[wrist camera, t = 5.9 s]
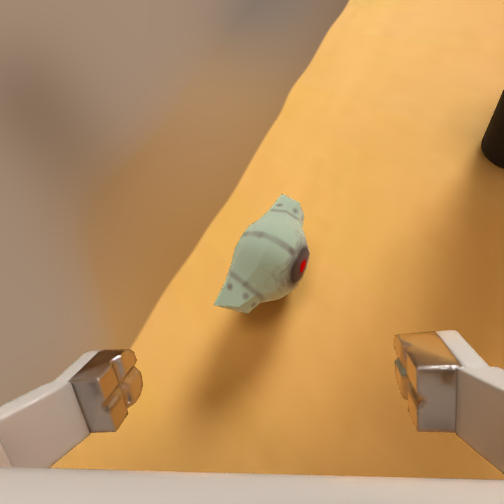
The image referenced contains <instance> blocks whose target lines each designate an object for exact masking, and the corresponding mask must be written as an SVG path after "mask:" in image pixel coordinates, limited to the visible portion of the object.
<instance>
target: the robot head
mask: <svg viewBox="0 0 504 504" xmlns="http://www.w3.org/2000/svg"><path fill="white" fill-rule="evenodd" d="M303 220H304V213H303V210H302V208H301V206H300V203H299V202H297V201H295V200H293V199H291V198H289V197H287V196H286V195H284V194H281V196H280V197H279V198H278V199H277V201H276V202H275V203H274V205H273V206H272V207H271V209H270V210H269V211H268V212H267V213H265V214H264V215H263V216H262V217H261V218H260V219H259V220H257V221H256V222H254V223H253V224H251V225H250V226H249V227H248V228H247V229H246V231H245V232H244V233H243V235H242V236H241V238H240V240H239V242H238V244H237V246H236V248H235V251H234V255H233V259H232V263H231V266H230V269H229V272H228V275H227V278H226V281H225V283H224V285H223V287H222V289H221V291H220V293H219V295H218V297H217V299H216V301H215V303H214V305H215V306H219V307H223V308H227V309H231V310H235V311H239V312H243V313H247V314H248V313H249V312H250V311H252V310H253V309H254V308H255V307H256V306H257V305H258V304H260V303H263V302H269V301H274V300H279V299H281V298H282V297H284V296H286V295H287V294H289V293H290V292H292V291H293V290H295V289H296V287H297V285H298V284H299V282H300V280H301V279H302V277H303V275H304V272H305V270H306V268H307V263H308V259H309V254H310V253H309V249H308V245H307V242H306V238H305V234H304V231H303Z"/></svg>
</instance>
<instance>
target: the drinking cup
mask: <svg viewBox="0 0 504 504" xmlns="http://www.w3.org/2000/svg"><path fill="white" fill-rule="evenodd" d="M482 150H483V152H484V154H485V155H486V157H487V158H488V159H489V160H490V161H492V162H493V163H494V164H496V165H498V166H500V167H502V168H504V90H503V93H502V95H501V97H500V100H499V102H498V104H497V107H496V109H495V111H494V114H493V116H492V118H491V121H490V123H489V125H488V128H487V130H486V132H485V135H484V137H483V140H482Z"/></svg>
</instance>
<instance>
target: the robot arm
mask: <svg viewBox="0 0 504 504" xmlns="http://www.w3.org/2000/svg"><path fill="white" fill-rule="evenodd" d="M394 349H395V351H396V353H397V355H398V358H397V359H396V360H395V374H396V379H397V384H398V387H399V390H400V392H401V395H402V397H403V398H404V399H406V400H407V401H408V411H409V413H410V416H411V418H412V420H413V422H414V425H415V427H416V429H417V431H418V432H447V433H456V435H457V436H458V437H460V438H461V439H462V440H463V441H465V442H466V443H467V444H468V445H469V446H471V447H472V448H473V449H474V450H475V451H477V452H478V453H479V454H480V455H482V456H483V457H484V458H485V459H486V460H488V461H489V462H490V463H491V464H492V465H494V466H495V467H496V468H497V469H499V470H500V471H501V472H502V473H503V474H504V370H503V369H501V368H499V367H490V366H489V365H488V364H487V363H486V362H485V361H484V360H483V359H482V358H481V357H480V356H479V355H478V353H477V352H476V351H475V350H474V349H473V348H472V347H471V346H470V345H469V344H468V343H467V342H466V341H465V340H464V339H463V337H462V336H461V335H460V334H459V333H458V332H457V331H455V330H444V331H433V332H422V333H410V334H398V335H394ZM136 361H137V359H136V356H135V353H134V351H132V350H130V349H120V350H96V351H88V352H85V353H84V354H83V355H82V356H81V357H80V358H79V359H78V360H76V361H75V362H74V363H73V364H72V365H71V366H70V367H68V368H67V369H66V370H65V371H64V372H63V373H62V374H61V375H60V376H58V377H57V378H56V379H55V380H54V381H53V382H52V383H46V384H44V385H42V386H40V387H38V388H36V389H34V390H32V391H30V392H28V393H26V394H24V395H22V396H20V397H18V398H16V399H14V400H12V401H10V402H8V403H6V404H4V405H2V406H0V504H504V480H491V479H452V478H412V477H373V476H334V475H294V474H256V473H219V472H182V471H145V470H102V469H60V468H50V467H51V466H52V465H53V464H54V463H56V462H57V461H58V460H59V459H61V458H62V457H63V456H64V455H65V454H67V453H68V452H69V451H70V450H72V449H73V448H74V447H75V446H77V445H78V444H79V443H80V442H81V441H83V440H84V439H85V438H86V437H88V436H89V435H90V433H97V432H116V431H117V430H118V428H119V427H120V425H121V424H122V422H123V421H124V419H125V418H126V416H127V415H128V408H129V407H130V406H131V405H133V404H134V403H136V401H137V400H138V398H139V397H140V394H141V391H142V387H143V381H142V375H141V372H140V371H139V370H138V369H137V368H136V367H135V364H136Z"/></svg>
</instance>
